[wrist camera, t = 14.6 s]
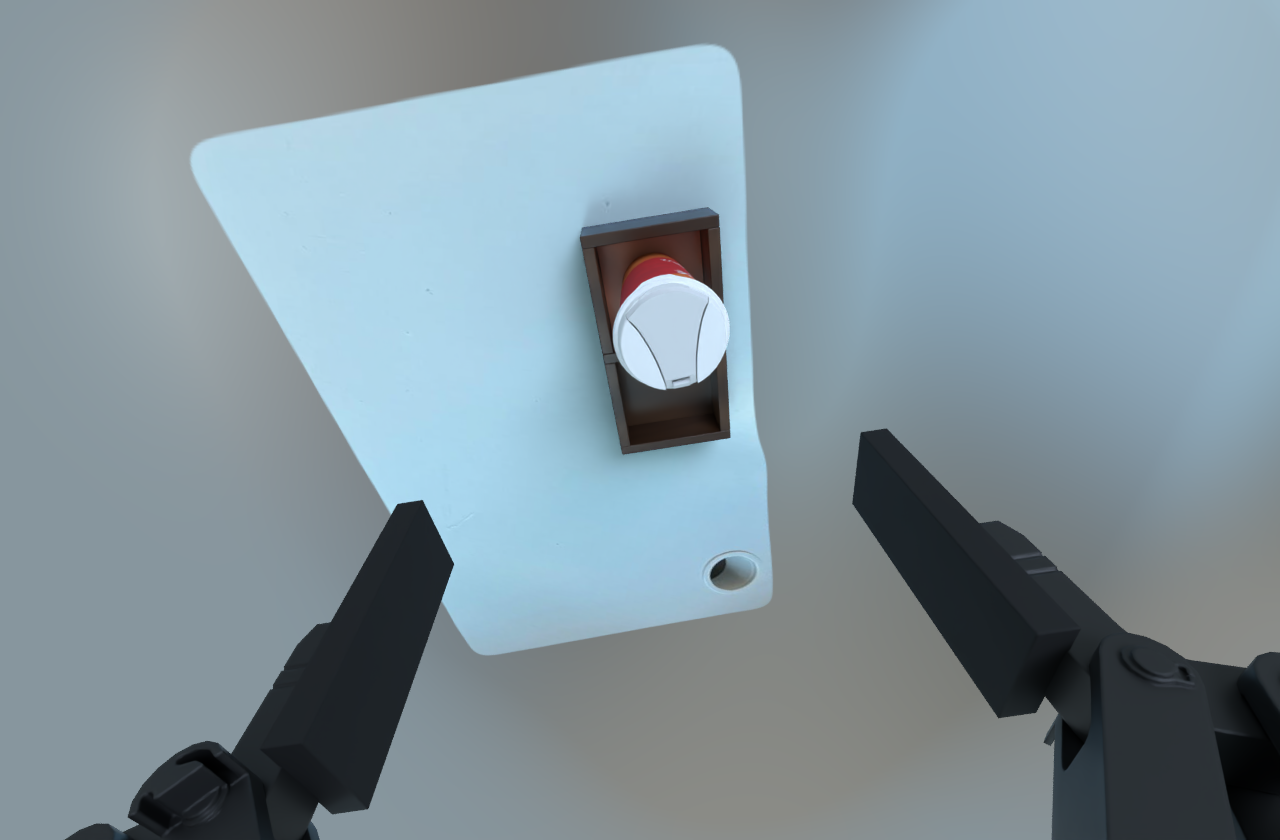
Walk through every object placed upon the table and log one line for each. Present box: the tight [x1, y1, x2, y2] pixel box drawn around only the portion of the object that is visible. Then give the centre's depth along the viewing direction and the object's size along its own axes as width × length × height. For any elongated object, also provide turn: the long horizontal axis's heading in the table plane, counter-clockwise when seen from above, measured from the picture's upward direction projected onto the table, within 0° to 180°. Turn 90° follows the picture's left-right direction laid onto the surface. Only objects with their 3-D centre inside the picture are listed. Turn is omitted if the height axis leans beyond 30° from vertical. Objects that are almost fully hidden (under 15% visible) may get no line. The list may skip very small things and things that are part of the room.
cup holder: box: [580, 207, 730, 454], centre depth 46 cm, size 22×12×5 cm, turn 8°
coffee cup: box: [613, 253, 730, 390], centre depth 39 cm, size 8×8×15 cm
